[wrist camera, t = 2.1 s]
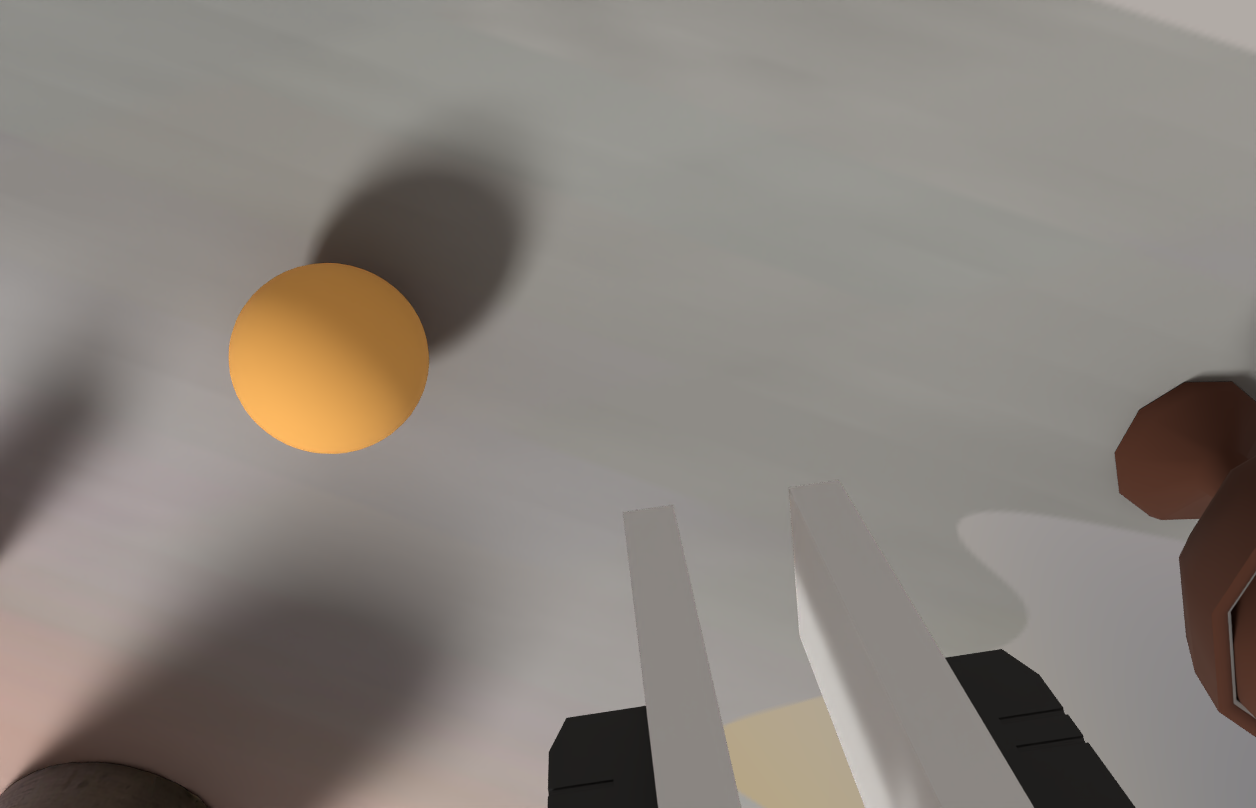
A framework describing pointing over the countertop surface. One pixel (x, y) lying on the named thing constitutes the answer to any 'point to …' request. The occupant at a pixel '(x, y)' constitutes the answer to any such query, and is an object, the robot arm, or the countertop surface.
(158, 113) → the countertop surface
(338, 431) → the ball
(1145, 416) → the ice cream bowl
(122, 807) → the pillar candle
